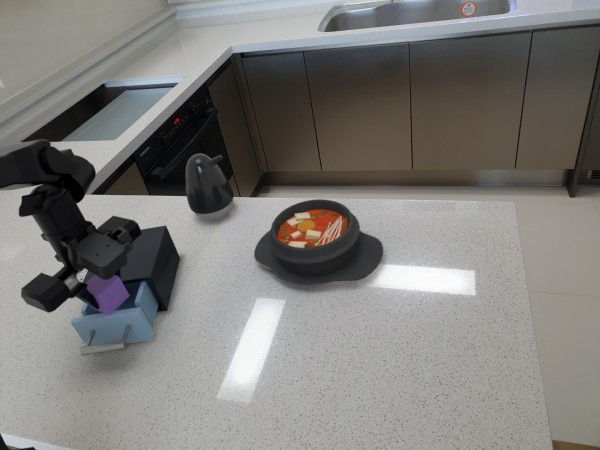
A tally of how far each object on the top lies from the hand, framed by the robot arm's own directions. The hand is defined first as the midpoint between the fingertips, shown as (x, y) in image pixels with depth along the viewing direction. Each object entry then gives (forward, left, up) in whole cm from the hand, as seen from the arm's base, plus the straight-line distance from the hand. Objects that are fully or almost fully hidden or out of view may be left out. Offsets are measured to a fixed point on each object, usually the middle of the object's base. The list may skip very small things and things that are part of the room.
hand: (108, 297), depth 75 cm
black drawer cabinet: (+7, +9, -9) cm, 14 cm away
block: (0, 0, -1) cm, 1 cm away
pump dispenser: (+30, +17, -9) cm, 36 cm away
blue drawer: (+1, +1, -8) cm, 8 cm away
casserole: (+34, -13, -9) cm, 38 cm away
